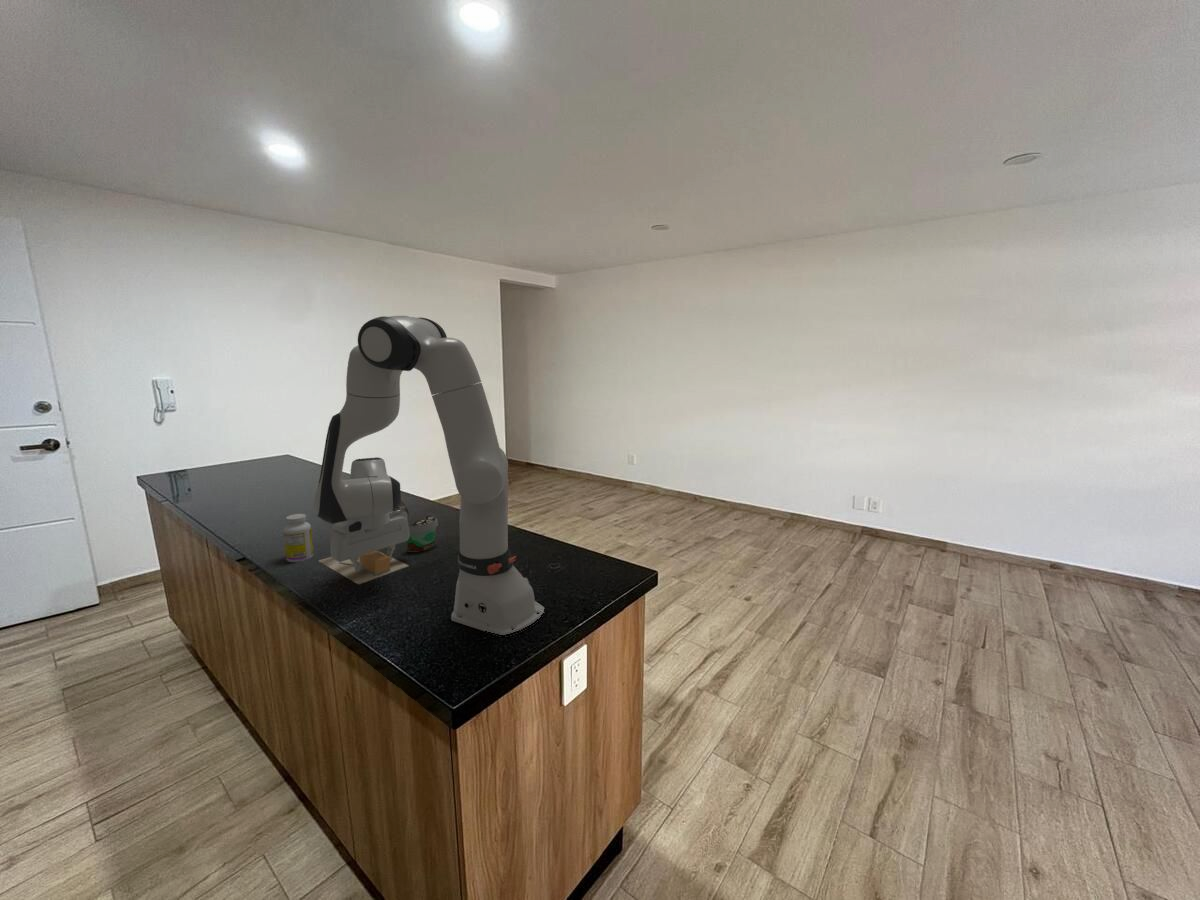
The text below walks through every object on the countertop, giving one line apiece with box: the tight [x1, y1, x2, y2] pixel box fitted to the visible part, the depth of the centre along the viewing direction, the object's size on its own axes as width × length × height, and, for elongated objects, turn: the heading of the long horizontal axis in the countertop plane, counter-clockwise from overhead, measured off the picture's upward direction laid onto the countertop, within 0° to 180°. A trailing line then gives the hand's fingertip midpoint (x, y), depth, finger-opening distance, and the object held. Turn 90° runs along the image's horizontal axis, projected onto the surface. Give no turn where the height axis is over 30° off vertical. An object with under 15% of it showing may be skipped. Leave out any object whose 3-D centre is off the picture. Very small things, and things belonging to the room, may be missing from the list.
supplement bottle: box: [282, 513, 314, 563], centre depth 130 cm, size 7×7×13 cm
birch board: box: [318, 550, 409, 585], centre depth 127 cm, size 22×14×2 cm, turn 55°
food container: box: [406, 513, 439, 553], centre depth 139 cm, size 12×6×10 cm, turn 168°
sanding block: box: [359, 550, 390, 576], centre depth 123 cm, size 8×4×4 cm, turn 55°
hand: (373, 565), depth 123 cm, fingers open, 6 cm apart
